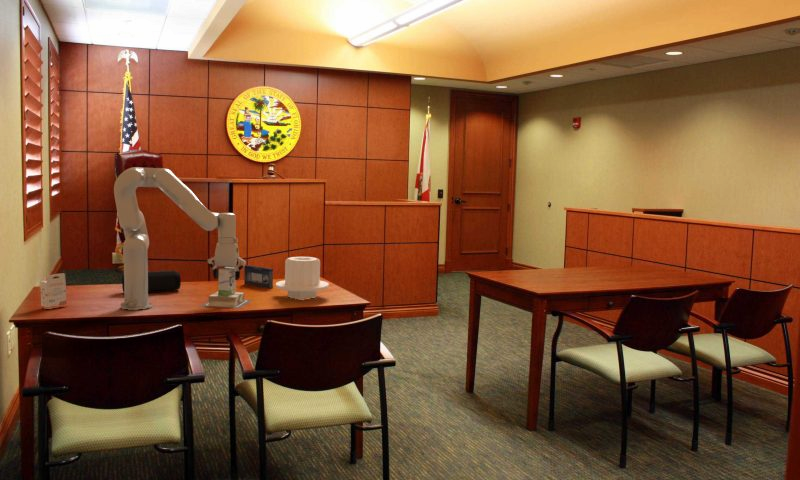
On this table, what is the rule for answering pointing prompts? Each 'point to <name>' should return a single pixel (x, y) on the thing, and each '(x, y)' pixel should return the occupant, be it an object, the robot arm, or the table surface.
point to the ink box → (227, 281)
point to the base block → (226, 299)
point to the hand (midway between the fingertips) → (226, 279)
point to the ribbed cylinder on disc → (302, 278)
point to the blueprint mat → (228, 306)
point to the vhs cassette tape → (258, 276)
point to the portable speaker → (162, 281)
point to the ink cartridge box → (53, 290)
